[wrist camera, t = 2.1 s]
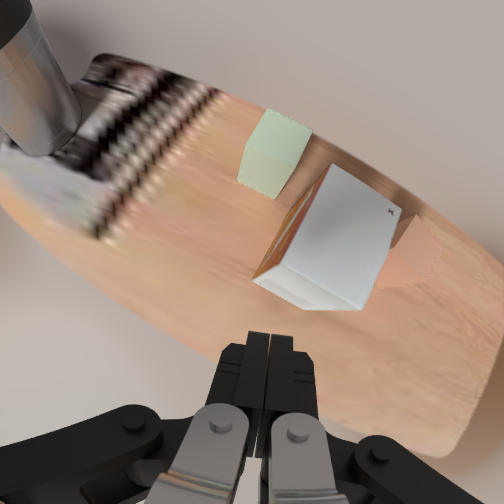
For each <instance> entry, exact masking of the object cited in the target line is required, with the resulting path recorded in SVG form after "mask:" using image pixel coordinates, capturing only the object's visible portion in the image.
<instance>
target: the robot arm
mask: <svg viewBox="0 0 504 504" xmlns="http://www.w3.org/2000/svg"><path fill="white" fill-rule="evenodd" d="M80 119H81V108H80V105H79V103H78V101H77V99H76V97H75V95H74V93H73V91H72V90H71V88H70V85H69V83H68V82H67V80H66V78H65V76H64V74H63V72H62V70H61V68H60V66H59V64H58V62H57V60H56V58H55V56H54V54H53V52H52V50H51V47H50V45H49V43H48V41H47V39H46V37H45V35H44V33H43V30H42V28H41V26H40V24H39V22H38V20H37V17H36V15H35V13H34V10H33V8H32V5H31V3H30V0H0V126H1V127H2V128H3V129H4V131H5V132H6V133H7V134H8V135H9V136H10V137H11V138H12V139H13V140H14V141H15V142H16V143H17V144H18V145H19V146H20V147H21V148H22V149H23V150H24V151H25V152H26V153H27V154H29V155H31V156H35V157H41V156H46V155H49V154H51V153H53V152H55V151H57V150H58V149H59V148H61V147H62V146H63V145H64V144H65V143H67V142H68V141H69V139H70V138H71V137H72V136H73V134H74V133H75V131H76V129H77V128H78V125H79V122H80ZM269 338H270V334H268V333H261V332H253V331H249V332H248V337H247V342H246V345H242V344H235V343H231V344H229V345H228V346H227V347H226V348H225V349H224V350H223V351H222V353H221V356H220V359H219V363H218V366H217V369H216V372H215V375H214V378H213V382H212V385H211V388H210V391H209V394H208V397H207V400H206V403H205V406H204V407H202V408H201V409H199V410H198V412H196V414H195V415H194V416H191V417H188V418H185V419H167V420H161V419H160V417H159V416H158V414H157V413H156V412H155V411H153V410H152V409H150V408H148V407H146V406H142V405H135V404H133V405H125V406H122V407H119V408H117V409H114V410H111V411H109V412H106V413H104V414H101V415H99V416H96V417H93V418H90V419H87V420H85V421H82V422H79V423H76V424H73V425H71V426H68V427H65V428H62V429H59V430H56V431H53V432H50V433H47V434H43V435H40V436H37V437H34V438H30V439H27V440H24V441H21V442H17V443H13V444H10V445H6V446H2V447H0V504H136V503H138V502H140V501H142V500H144V499H146V500H145V502H144V504H233V502H234V499H235V495H236V491H237V487H238V484H239V480H240V476H241V475H242V473H243V471H244V466H245V462H246V457H252V456H253V452H254V447H255V442H256V437H257V443H256V451H255V458H262V464H261V471H260V475H259V479H258V504H484V503H482V502H481V501H479V500H478V499H476V498H475V497H473V496H472V495H470V494H469V493H467V492H466V491H464V490H463V489H461V488H460V487H458V486H457V485H455V484H454V483H453V482H451V481H450V480H448V479H447V478H445V477H444V476H443V475H441V474H439V473H438V472H437V471H435V470H434V469H432V468H431V467H430V466H429V465H427V464H426V463H424V462H423V461H422V460H420V459H419V458H418V457H416V456H415V455H413V454H412V453H411V452H410V451H408V450H407V449H406V448H404V447H403V446H402V445H400V444H399V443H398V442H396V441H395V440H393V439H391V438H389V437H386V436H382V435H372V436H368V437H365V438H364V439H362V440H361V441H360V442H359V443H358V444H357V443H353V442H349V441H346V440H342V439H339V438H336V437H334V436H332V435H331V434H329V433H328V432H327V431H326V430H325V428H324V427H323V425H322V424H321V422H320V421H319V418H318V408H317V396H316V385H315V375H314V364H313V361H312V360H311V358H310V357H309V356H308V354H307V353H306V352H298V351H293V336H285V335H277V334H272V335H271V340H270V346H269ZM268 348H269V352H268ZM257 432H258V435H257Z"/></svg>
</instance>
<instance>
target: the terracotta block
mask: <svg viewBox="0 0 504 504" xmlns="http://www.w3.org/2000/svg"><path fill="white" fill-rule="evenodd" d="M443 249H444V247H443V246H442V245H441V243H440V242H439V241H438V240H437V238H436V237H435V236H434V235H433V233H432V232H431V231H430V230H429V228H428V227H427V226H426V225H425V224H424V222H423V221H422V220H421V219H420V218H419V217H418V215H417V214H416V215H414V216H411V217H409V218H407V219H405V220H403V221H401V222H399V223H398V224H397V227H396V230H395V233H394V235H393V238H392V241H391V245H390V248H389V251H388V254H387V257H386V259H385V262H384V264H383V266H382V268H381V270H380V272H379V275H378V277H377V279H376V282H375V284H376V285H377V286H378V287H379V288H380V289H383V288H390V287H397V286H404V285H411V284H417V283H424V282H425V280H426V278H427V277H428V275H429V273H430V272H431V270H432V268H433V267H434V265H435V263H436V261H437V260H438V258H439V256H440V254H441V252H442V251H443Z"/></svg>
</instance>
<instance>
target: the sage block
mask: <svg viewBox="0 0 504 504" xmlns="http://www.w3.org/2000/svg"><path fill="white" fill-rule="evenodd" d="M312 132H313V130H312V129H310V128H308V127H307V126H305V125H303V124H301V123H298V122H297V121H294V120H293V119H291V118H289V117H286V116H284V115H282V114H280V113H278V112H276V111H274V110H272V109H270V108H267V110H266V112H265V113H264V115H263V117H262V118H261V120H260V122H259V123H258V125H257V127H256V128H255V130H254V132H253V133H252V135H251V137H250V138H249V140H248V142H247V143H246V146H245V150H244V154H243V158H242V162H241V166H240V170H239V174H238V178H237V182H240V183H242V184H244V185H246V186H248V187H250V188H252V189H254V190H256V191H258V192H260V193H262V194H264V195H266V196H268V197H270V198H272V199H274V200H275V199H276V197H277V196H278V194H279V193H280V191H281V190H282V188H283V186H284V185H285V183H286V182H287V180H288V179H289V177H290V176H291V174H292V172H293V171H294V169H295V168H296V166H297V163H298V161H299V159H300V157H301V155H302V153H303V151H304V149H305V147H306V145H307V142H308V140H309V138H310V136H311V134H312Z"/></svg>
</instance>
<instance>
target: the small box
mask: <svg viewBox="0 0 504 504" xmlns="http://www.w3.org/2000/svg"><path fill="white" fill-rule="evenodd" d="M401 212H402V209H401V208H400V207H398V206H397V205H395V204H394V203H392V202H391V201H390V200H388V199H387V198H386V197H384V196H383V195H381V194H380V193H378V192H377V191H375V190H374V189H372V188H371V187H369V186H368V185H366V184H365V183H363V182H362V181H360V180H359V179H357V178H356V177H354V176H353V175H351V174H349V173H348V172H346V171H345V170H343V169H341V168H340V167H338V166H336V165H335V164H333V163H331V164H330V165H329V166H328V168H327V169H326V170H325V171H324V172H323V174H322V175H321V176H320V177H319V178H318V179H317V181H316V182H315V183H314V184H313V185H312V186H311V187H310V189H309V190H308V191H307V192H306V193H305V194H304V196H303V197H302V198H301V199H300V200H299V201H298V203H297V204H296V205H295V206H294V207H293V208H292V209H291V210H290V211H289V213H288V214H287V215H286V217H285V219H284V221H283V223H282V225H281V227H280V229H279V231H278V233H277V235H276V237H275V239H274V241H273V243H272V244H271V246H270V248H269V250H268V252H267V254H266V255H265V257H264V259H263V261H262V263H261V264H260V266H259V268H258V270H257V271H256V273H255V275H254V277H253V278H252V281H253V282H255V283H257V284H258V285H260V286H262V287H264V288H265V289H267V290H269V291H271V292H273V293H274V294H276V295H278V296H280V297H281V298H283V299H285V300H287V301H289V302H290V303H292V304H294V305H296V306H298V307H299V308H301V309H304V310H356V311H361V310H362V309H363V308H364V306H365V304H366V302H367V300H368V298H369V295H370V293H371V291H372V289H373V287H374V284H375V282H376V279H377V277H378V275H379V272H380V270H381V268H382V266H383V264H384V262H385V259H386V257H387V254H388V251H389V248H390V245H391V241H392V238H393V235H394V233H395V230H396V227H397V224H398V221H399V218H400V215H401Z"/></svg>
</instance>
